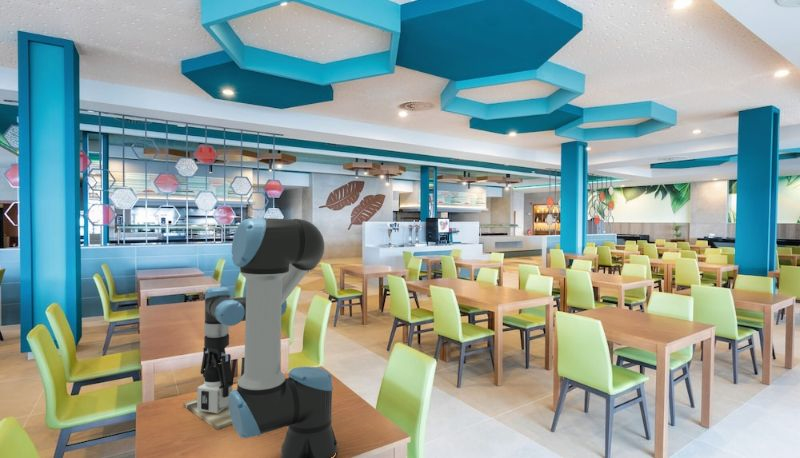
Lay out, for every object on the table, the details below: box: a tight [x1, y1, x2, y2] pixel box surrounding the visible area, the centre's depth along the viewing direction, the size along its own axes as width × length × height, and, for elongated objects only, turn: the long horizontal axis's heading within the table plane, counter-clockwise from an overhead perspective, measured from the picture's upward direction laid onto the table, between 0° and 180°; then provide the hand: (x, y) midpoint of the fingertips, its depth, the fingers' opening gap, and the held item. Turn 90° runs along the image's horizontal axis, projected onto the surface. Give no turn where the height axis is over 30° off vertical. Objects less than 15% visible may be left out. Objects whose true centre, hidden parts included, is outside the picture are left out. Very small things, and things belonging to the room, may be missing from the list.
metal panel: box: [182, 397, 233, 431], centre depth 137 cm, size 24×10×1 cm, turn 50°
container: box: [196, 366, 233, 413], centre depth 137 cm, size 8×8×13 cm
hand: (215, 401), depth 137 cm, fingers closed on container, 10 cm apart
